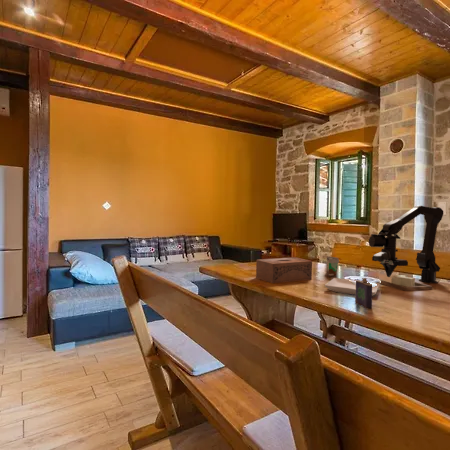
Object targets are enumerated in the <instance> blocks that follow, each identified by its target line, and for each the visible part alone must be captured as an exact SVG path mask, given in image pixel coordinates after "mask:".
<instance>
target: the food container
mask: <svg viewBox="0 0 450 450" xmlns="http://www.w3.org/2000/svg"><path fill="white" fill-rule="evenodd" d="M339 263H340V260H339V257H334V256H326V273H325V274H326V275H327V277H328V278H337V274H338V266H339Z"/></svg>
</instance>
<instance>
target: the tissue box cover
mask: <svg viewBox="0 0 450 450" xmlns="http://www.w3.org/2000/svg"><path fill="white" fill-rule="evenodd" d="M255 261H256V267H255V269H256V270H255V278H256V279H259V280H261V281H265V282H267V283H270V284H278V283H289V282H297V281H308V280H312V277H313V274H312V273H313V260H309V259H304V258H299V257H293V256H292V257H282V258H264V259H263V258H262V259H256V260H255Z"/></svg>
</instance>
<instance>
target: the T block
mask: <svg viewBox="0 0 450 450" xmlns="http://www.w3.org/2000/svg"><path fill="white" fill-rule="evenodd" d="M415 279H416V278H415V277H410V276H409V277H408V275H404V274H403V275H402V274H400V275H396V276H395V275H394V276H392V277H391V281H390V283H393V284H397V285H401V286H404V287H410V286H415V282H416V280H415Z"/></svg>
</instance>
